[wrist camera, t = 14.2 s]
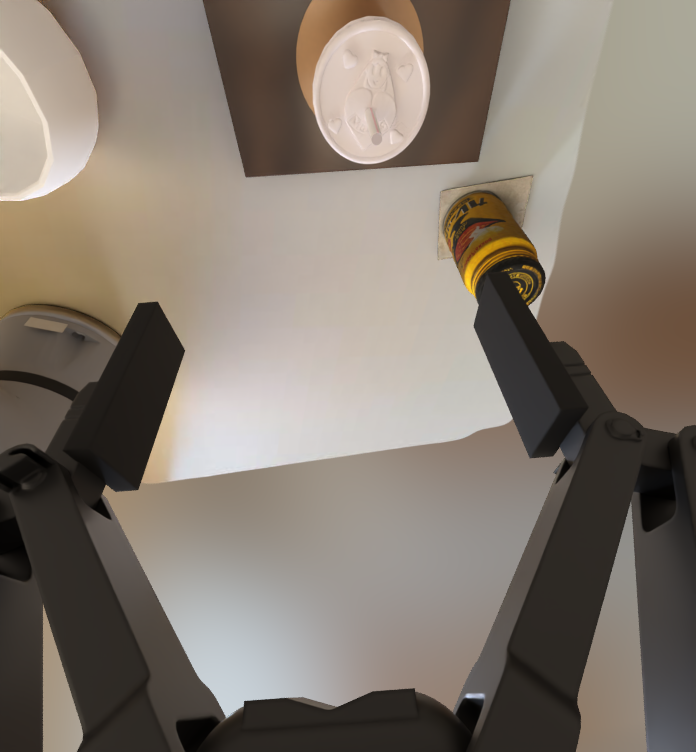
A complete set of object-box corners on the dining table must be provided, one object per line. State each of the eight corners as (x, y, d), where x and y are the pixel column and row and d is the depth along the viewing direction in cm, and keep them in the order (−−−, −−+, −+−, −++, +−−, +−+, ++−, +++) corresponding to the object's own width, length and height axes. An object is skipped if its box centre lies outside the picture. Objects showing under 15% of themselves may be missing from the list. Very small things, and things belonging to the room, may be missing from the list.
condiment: (439, 190, 34) (473, 260, 27) (532, 174, 34) (595, 241, 26) (437, 259, 40) (464, 333, 32) (517, 246, 39) (565, 319, 31)
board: (248, 171, 32) (245, 178, 31) (188, -81, 22) (181, -83, 21) (473, 155, 32) (479, 162, 31) (523, -106, 22) (534, -109, 21)
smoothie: (310, 109, 28) (303, 185, 19) (320, -11, 23) (318, 12, 14) (391, 126, 29) (423, 205, 20) (417, 13, 24) (474, 49, 15)
